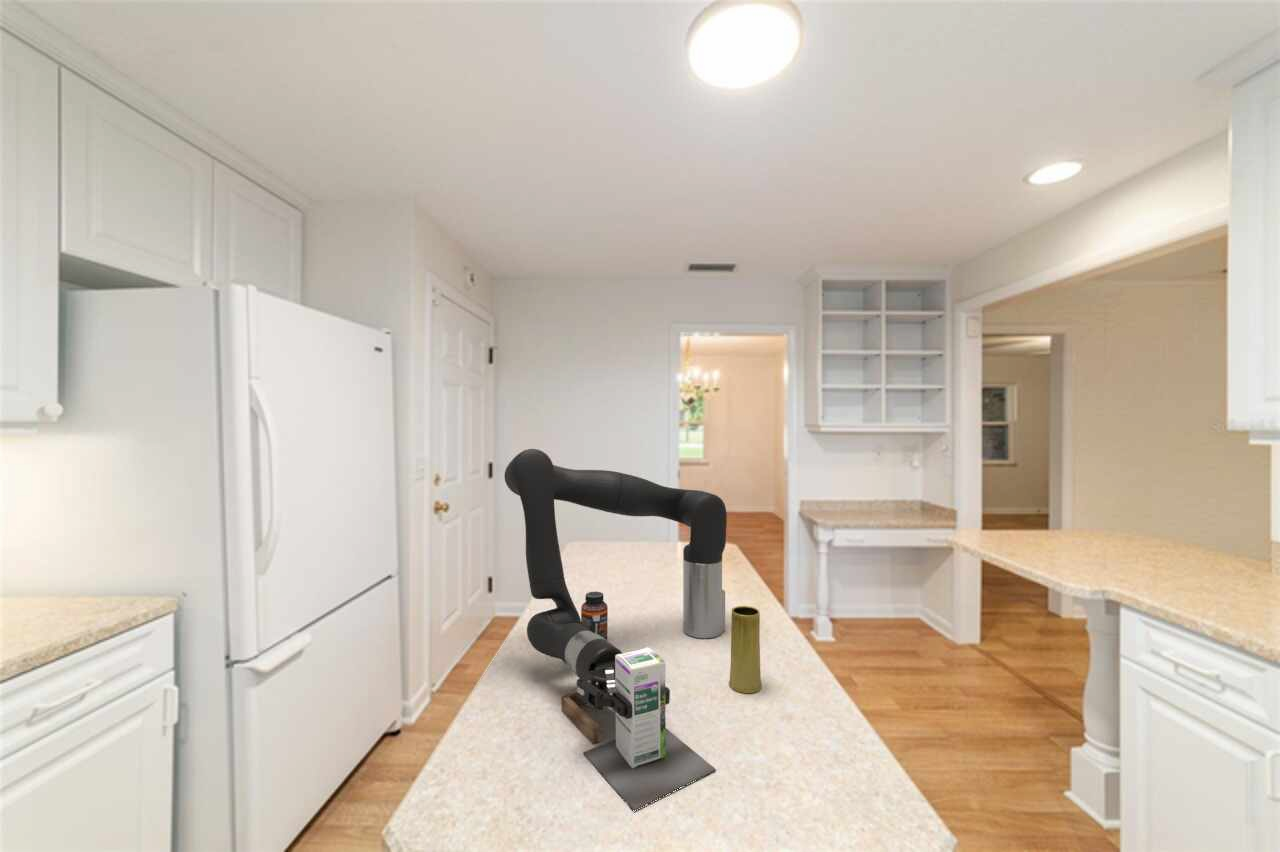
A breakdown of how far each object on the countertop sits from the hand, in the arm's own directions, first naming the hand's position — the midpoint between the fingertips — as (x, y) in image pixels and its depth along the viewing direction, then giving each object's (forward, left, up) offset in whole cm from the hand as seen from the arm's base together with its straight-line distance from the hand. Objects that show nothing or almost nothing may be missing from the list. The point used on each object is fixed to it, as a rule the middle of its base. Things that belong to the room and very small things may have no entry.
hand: (649, 704), depth 76 cm
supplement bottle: (-13, -40, -9) cm, 43 cm away
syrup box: (0, -3, -8) cm, 9 cm away
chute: (0, -7, -9) cm, 11 cm away
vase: (-28, -8, -9) cm, 31 cm away
